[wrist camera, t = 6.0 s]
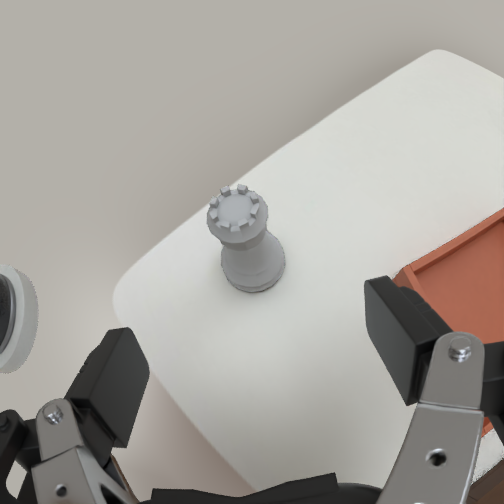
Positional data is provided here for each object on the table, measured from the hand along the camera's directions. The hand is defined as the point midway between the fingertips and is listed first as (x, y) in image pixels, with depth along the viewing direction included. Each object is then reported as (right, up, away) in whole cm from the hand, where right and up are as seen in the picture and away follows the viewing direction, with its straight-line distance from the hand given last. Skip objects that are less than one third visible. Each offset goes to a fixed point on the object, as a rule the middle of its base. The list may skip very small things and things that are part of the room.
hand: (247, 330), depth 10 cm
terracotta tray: (+19, -2, +8) cm, 20 cm away
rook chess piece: (0, +2, +13) cm, 13 cm away
